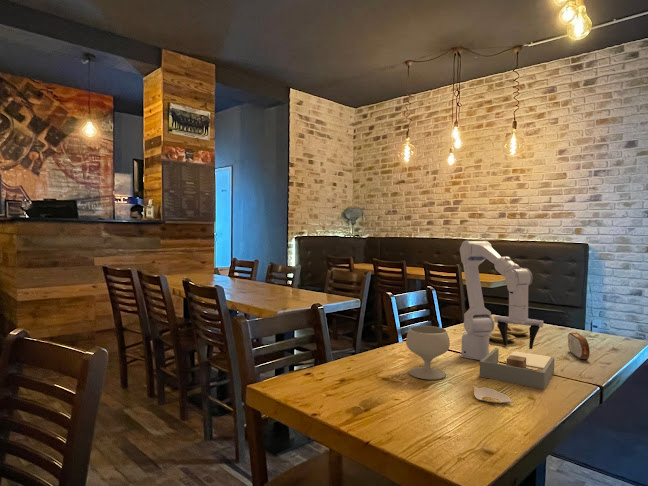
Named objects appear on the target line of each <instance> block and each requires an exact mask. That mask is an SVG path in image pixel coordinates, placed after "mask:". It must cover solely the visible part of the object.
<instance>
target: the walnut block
mask: <svg viewBox="0 0 648 486" xmlns="http://www.w3.org/2000/svg"><path fill="white" fill-rule="evenodd" d="M509 355H510V354H509ZM509 355H508V356H509ZM508 356H507V357H508ZM507 357H506V358H507ZM505 365H508V366H514V367H520V368H525V369H527V366H526V357H520V356H514V355H510V356H509V357H508V358H507V362H506V364H505Z"/></svg>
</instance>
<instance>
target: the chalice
mask: <svg viewBox="0 0 648 486" xmlns="http://www.w3.org/2000/svg"><path fill="white" fill-rule="evenodd" d="M405 343H406V347H407V349H408V350H409V351H410V352H412V353H413V354H415V355H416V356H418V357H420V358H421V360H423V362H424V366H418V367H412V368H410V369H409V370H408V374H409V375H410V376H412V377H414V378H417V379H422V380H430V381H431V380H433V381H435V380H436V381H437V380H442V379H444V378H446V376H447V373H446V372H445V371H443V370H441V369H439V368H436V367H432V366H431V362H432V361H433V360H434V359H435V358H437V357H440V356H442V355H443V354H446V353H447V352H448V350H449V349H450V346H451V344H450V343H451V342H450V336H449V334H448V331H447V330H446V329H445V328H444V327H439V326H435V325H414V326H411V327H410V328H409V329H408V331H407V334H406V339H405Z"/></svg>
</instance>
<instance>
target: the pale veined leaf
mask: <svg viewBox="0 0 648 486" xmlns="http://www.w3.org/2000/svg"><path fill="white" fill-rule="evenodd" d="M472 386H473V391H474V392H473V394H474V396H475V398H476V399H477V400H480V401H484V402H488V403H491V401H489V400H485V399H483V398H491V399H493V400H495V399H496V400H499V401H492V403H493V404H495V403H496V404H497V403H498V404H499V403H500V404H501V403H504V404H507V403H508V404H509V403H511V404H513V403H514V401H513V400H511V398H510V396H508V395H507V394H505V393H502V392H499V391H498V390H497V389H496V390H495V389H493V388H490V387H483V386H482V387H477V386H475V385H473V384H472Z"/></svg>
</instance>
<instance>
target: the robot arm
mask: <svg viewBox="0 0 648 486" xmlns="http://www.w3.org/2000/svg"><path fill="white" fill-rule="evenodd" d="M492 246H493V245H492V243H490V242H489V241H488V240H464V241H463V242H462V243H461V245H460V247H459V253H460V254H459V255H460V259H461V263H462V265H463V271H464V279H465V285H466V290H467V291H466V292H467V299H468V304H469V305H468V306H469V308H468V310H466V312H464V314H463V317H464V320H463V328H464V330H465V331H464V332H463V333H462V336H461V355H460V357H461V358H466V359H471V360H478V361H481V360H482V359H483V358H484V357H486V356H487V355H488V354H489V353H490V344H489V338H490V337H489V335H491V333H493V331H494V329H495V323H497V324H496V326H497V329H498V330H499V333H501V335H502V338H503V342H504V345H505V346H504V347H507V346H506V345H507V342H508V340H507V329H508V325H509V324H511V325H520V326H529V329H528V333H529V335H530V338H529V344H528V347H529V350H532V349H533V347H534V342H535V338H536V337H537V334H538V332H539V330H540V328H543V327H544V320H541V319H540V320H539V319H533V318H529V286H530V285H532V282H533V277H534V276H533V274H532V271H531V270H530V269H529V268H527V267H520V265H519V264H517V263H515V261H513V260H512V259H511V257H510V256H501V255H500V254H499V253H498V252H497V250H495V249H494V248H493V247H492ZM485 260H487V261H489V262H490V263H492V264H493V265H494V269H495V271H497V272H498V273H499V274H500V275H501V276H502V277H504V280H505V283H506V289H507V291H508V316H506V315H505V316H502V315H495V316H494V318H493V316H492V312H491V311H490V310H489V309H487V308H486V307H485V301H484V297H483V290H482V283H481V278H480V272H479V266H480V264H482V263H483V262H485Z"/></svg>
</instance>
